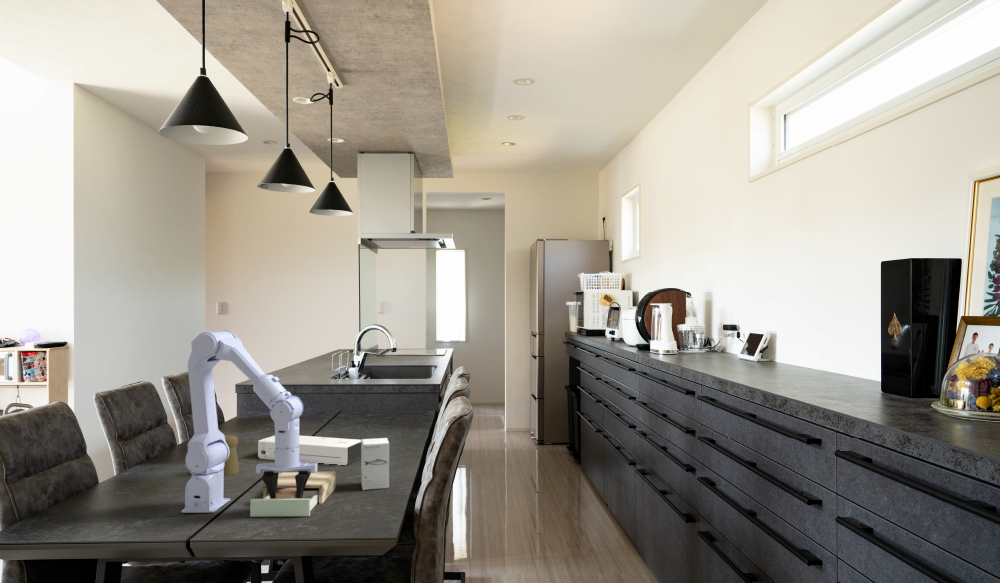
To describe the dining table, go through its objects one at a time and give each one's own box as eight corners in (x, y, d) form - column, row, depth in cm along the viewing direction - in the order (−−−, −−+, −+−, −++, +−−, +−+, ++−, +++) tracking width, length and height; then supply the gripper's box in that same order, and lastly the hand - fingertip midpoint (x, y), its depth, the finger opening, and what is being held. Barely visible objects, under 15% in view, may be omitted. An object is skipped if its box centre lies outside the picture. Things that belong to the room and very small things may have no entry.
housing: (322, 503, 153) (322, 485, 153) (263, 503, 153) (263, 485, 153) (335, 488, 166) (335, 471, 166) (281, 488, 165) (281, 471, 165)
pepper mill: (230, 476, 178) (231, 438, 178) (212, 474, 179) (213, 437, 179) (243, 470, 183) (243, 434, 184) (225, 469, 185) (226, 433, 185)
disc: (295, 502, 146) (295, 494, 146) (272, 503, 146) (272, 495, 146) (301, 495, 152) (301, 487, 152) (278, 496, 151) (278, 488, 151)
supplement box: (362, 490, 163) (362, 444, 163) (360, 483, 170) (361, 438, 171) (389, 488, 165) (389, 442, 165) (387, 481, 172) (387, 436, 172)
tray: (309, 516, 143) (309, 499, 143) (250, 516, 143) (250, 500, 143) (324, 498, 156) (324, 483, 156) (270, 498, 156) (270, 483, 156)
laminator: (366, 458, 199) (366, 439, 199) (346, 468, 187) (346, 448, 187) (279, 451, 209) (279, 433, 209) (255, 460, 197) (255, 441, 197)
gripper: (321, 442, 153) (320, 496, 152) (263, 443, 153) (263, 496, 152) (312, 449, 146) (312, 505, 145) (252, 449, 145) (252, 506, 145)
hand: (286, 501), depth 148 cm, fingers closed on disc, 5 cm apart
